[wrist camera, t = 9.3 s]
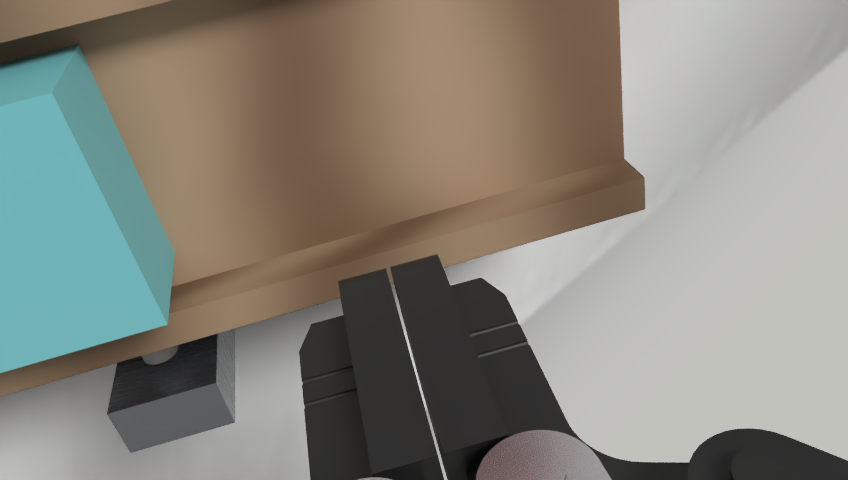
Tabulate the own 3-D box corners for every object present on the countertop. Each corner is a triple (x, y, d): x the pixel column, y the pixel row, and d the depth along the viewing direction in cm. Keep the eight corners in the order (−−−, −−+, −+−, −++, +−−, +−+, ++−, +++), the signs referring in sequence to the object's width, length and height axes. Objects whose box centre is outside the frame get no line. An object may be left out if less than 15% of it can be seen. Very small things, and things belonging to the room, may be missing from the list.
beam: (586, -246, 16) (637, -249, 14) (608, 209, 23) (645, 250, 21) (-828, 78, 14) (-1006, 128, 12) (-341, 485, 20) (-402, 561, 18)
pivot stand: (112, -297, 18) (47, -336, 12) (307, 278, 28) (328, 420, 22) (-224, -226, 18) (-478, -228, 11) (98, 337, 27) (58, 500, 21)
